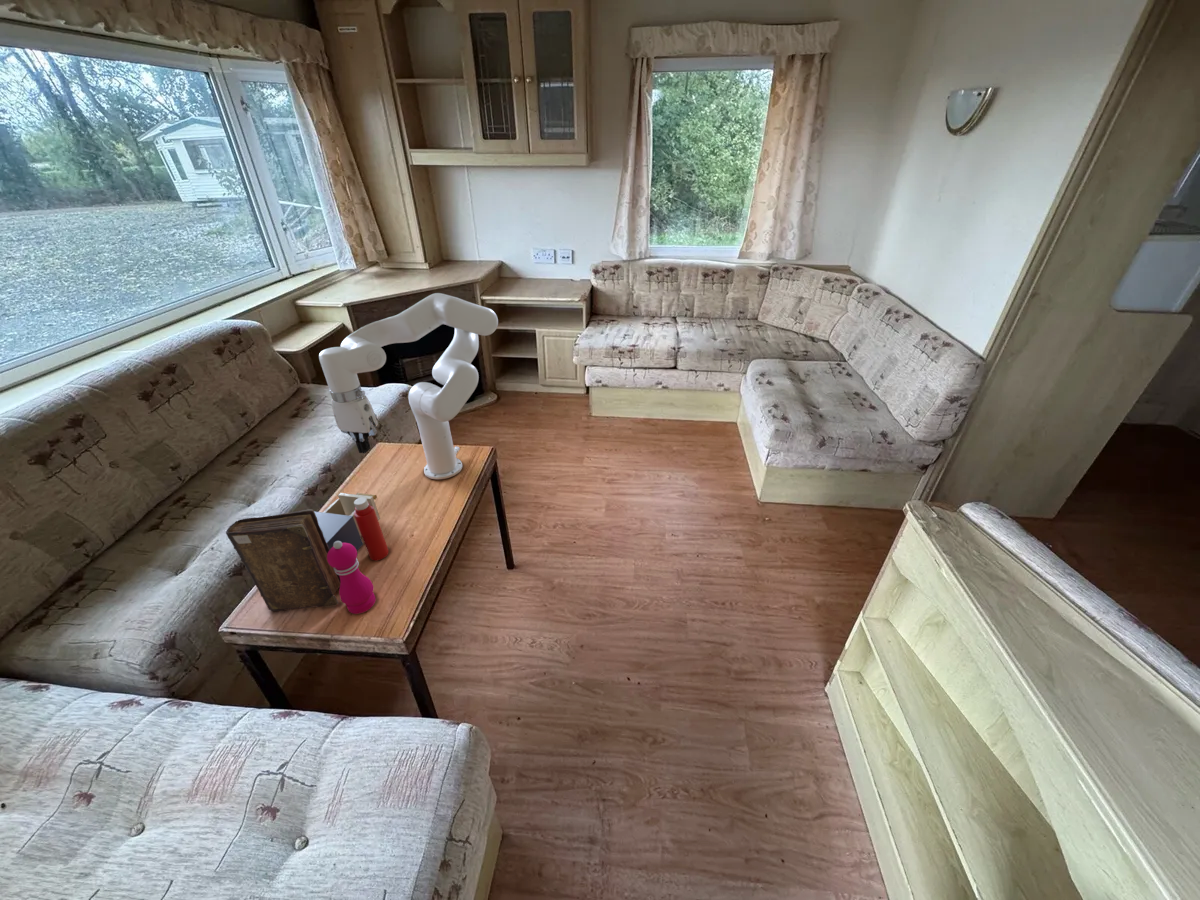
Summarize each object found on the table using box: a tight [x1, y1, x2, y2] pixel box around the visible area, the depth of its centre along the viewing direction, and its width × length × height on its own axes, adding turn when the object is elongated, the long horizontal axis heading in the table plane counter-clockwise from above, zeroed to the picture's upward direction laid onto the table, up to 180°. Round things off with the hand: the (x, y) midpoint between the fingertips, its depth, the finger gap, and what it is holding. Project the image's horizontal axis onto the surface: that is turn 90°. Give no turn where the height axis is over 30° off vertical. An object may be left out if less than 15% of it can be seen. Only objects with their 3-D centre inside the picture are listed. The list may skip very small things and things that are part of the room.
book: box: [225, 508, 341, 612], centre depth 110 cm, size 17×7×25 cm, turn 93°
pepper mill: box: [327, 541, 377, 615], centre depth 110 cm, size 7×7×20 cm
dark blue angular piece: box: [314, 510, 364, 552], centre depth 125 cm, size 15×12×10 cm
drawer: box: [323, 492, 381, 538], centre depth 136 cm, size 18×10×8 cm, turn 169°
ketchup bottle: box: [354, 497, 390, 561], centre depth 125 cm, size 5×5×18 cm
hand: (365, 450), depth 139 cm, fingers closed
